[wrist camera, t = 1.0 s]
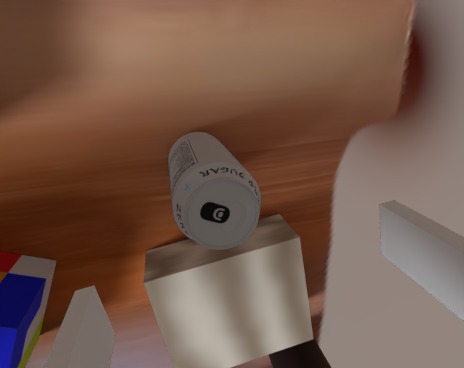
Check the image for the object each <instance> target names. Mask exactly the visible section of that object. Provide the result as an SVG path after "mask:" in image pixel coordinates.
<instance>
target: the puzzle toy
mask: <svg viewBox="0 0 464 368" xmlns="http://www.w3.org/2000/svg"><path fill="white" fill-rule="evenodd" d="M55 266H56V260H50V259H44V258H38V257H32V256H26V255H20V254H14V253H8V252H2V251H0V368H25V366H26V364H27V362H28V359H29V357H30V355H31V353H32V351H33V349H34V347H35V345H36V342H37V340H38V338H39V336H40V332H41V328H42V323H43V319H44V315H45V310H46V306H47V301H48V297H49V292H50V288H51V284H52V279H53V275H54V270H55Z"/></svg>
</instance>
